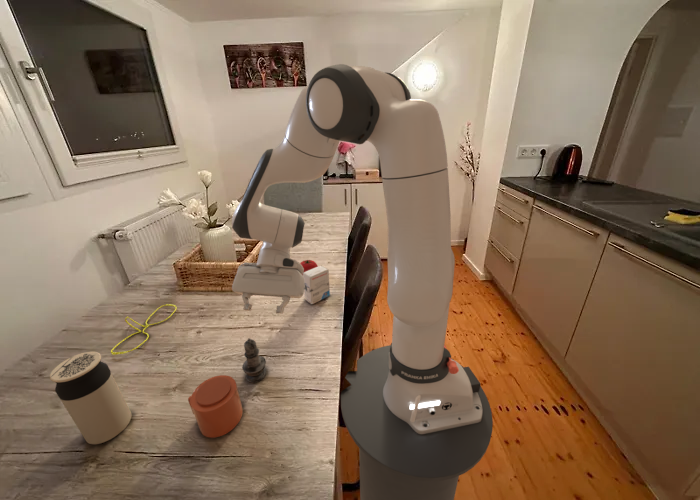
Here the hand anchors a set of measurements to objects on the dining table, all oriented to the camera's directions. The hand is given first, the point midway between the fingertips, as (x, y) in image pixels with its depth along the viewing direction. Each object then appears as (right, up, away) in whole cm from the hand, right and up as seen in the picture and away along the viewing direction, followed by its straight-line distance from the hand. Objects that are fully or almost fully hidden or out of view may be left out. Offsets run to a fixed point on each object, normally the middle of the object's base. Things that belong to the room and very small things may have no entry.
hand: (263, 311), depth 76 cm
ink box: (+11, -2, +30) cm, 33 cm away
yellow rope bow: (-44, -9, +16) cm, 48 cm away
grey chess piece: (-1, -16, -2) cm, 16 cm away
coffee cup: (-5, -21, -13) cm, 25 cm away
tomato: (+6, +5, +46) cm, 47 cm away
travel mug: (-29, -22, -14) cm, 39 cm away
